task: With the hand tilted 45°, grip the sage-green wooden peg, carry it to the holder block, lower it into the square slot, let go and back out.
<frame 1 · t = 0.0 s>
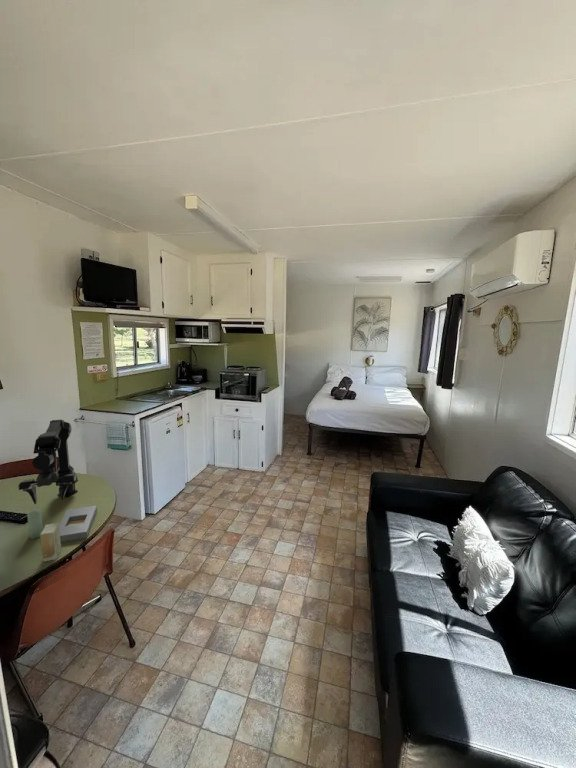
hand: (49, 501, 129), 15 cm above the table, tool pointing down, fingers open, 9 cm apart
skincare box: (52, 555, 120), on the table
sage peg: (36, 534, 131), on the table
holder block: (77, 525, 138), on the table
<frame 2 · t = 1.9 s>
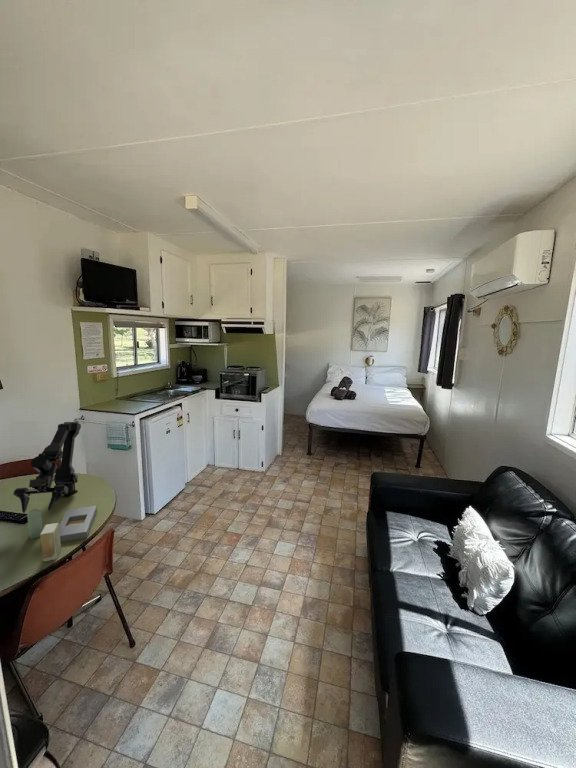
hand: (36, 511, 131), 10 cm above the table, tool tilted 45°, fingers open, 9 cm apart
nothing on the table moved.
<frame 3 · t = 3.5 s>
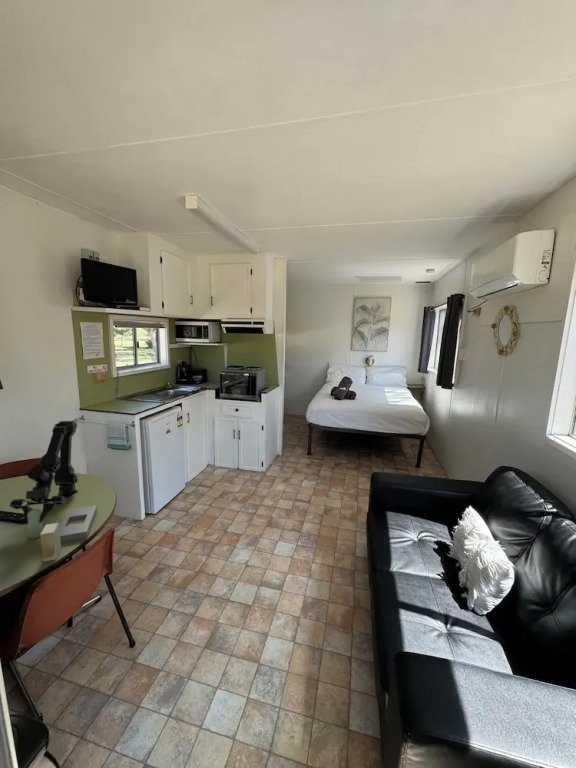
hand: (33, 523, 128), 7 cm above the table, tool tilted 45°, fingers closed on sage peg, 4 cm apart
sage peg: (36, 534, 131), on the table, touching gripper
everything else where it was.
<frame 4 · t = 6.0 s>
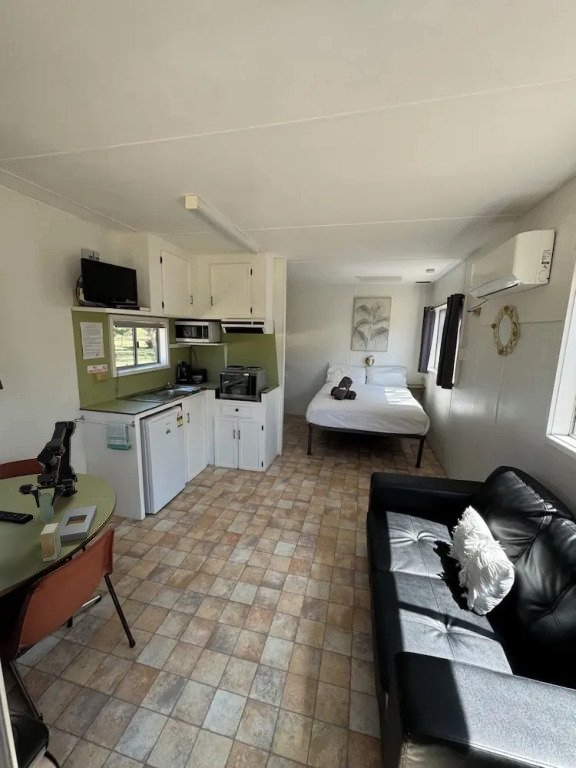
hand: (45, 506, 129), 13 cm above the table, tool tilted 45°, fingers closed on sage peg, 4 cm apart
sage peg: (47, 518, 131), point 7 cm above the table, touching gripper
everything else where it was.
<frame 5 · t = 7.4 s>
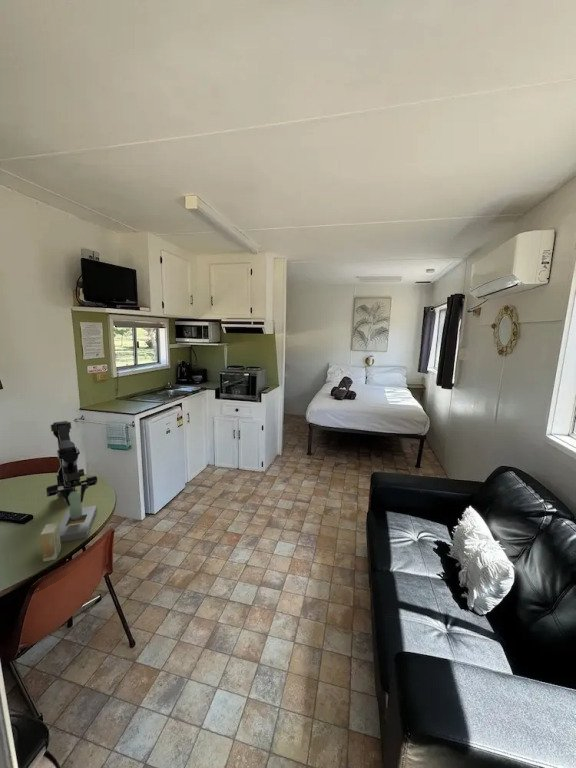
hand: (75, 503, 135), 12 cm above the table, tool tilted 45°, fingers closed on sage peg, 4 cm apart
sage peg: (76, 515, 137), point 5 cm above the table, touching gripper
everything else where it was.
when the fingers open (8 cm above the table, at t = 8.5 s): sage peg stays where it is, resting on holder block.
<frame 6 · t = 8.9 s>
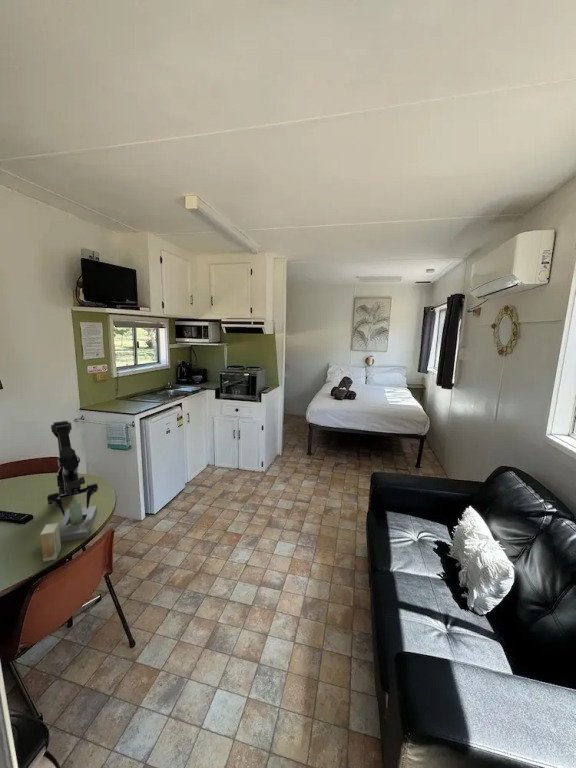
hand: (76, 511, 135), 8 cm above the table, tool tilted 45°, fingers open, 8 cm apart
sage peg: (76, 524, 138), point 1 cm above the table, touching holder block
everything else where it was.
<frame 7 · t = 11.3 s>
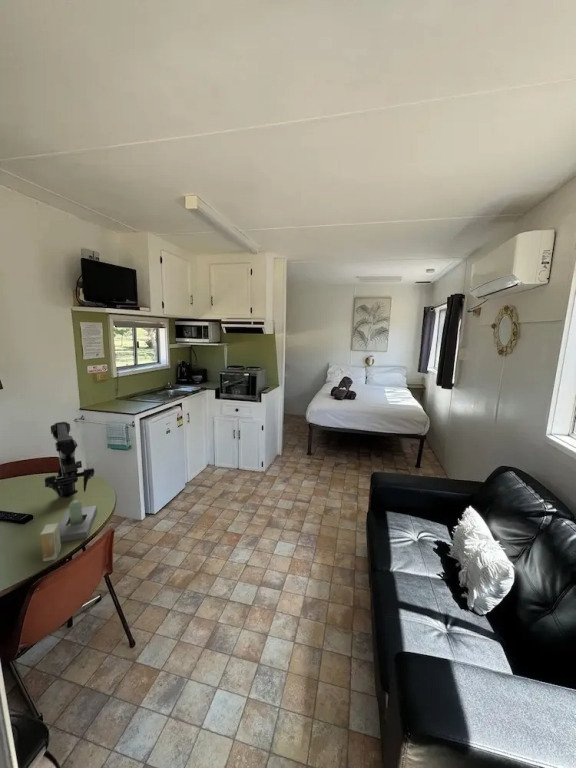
hand: (72, 494, 138), 13 cm above the table, tool tilted 45°, fingers open, 9 cm apart
nothing on the table moved.
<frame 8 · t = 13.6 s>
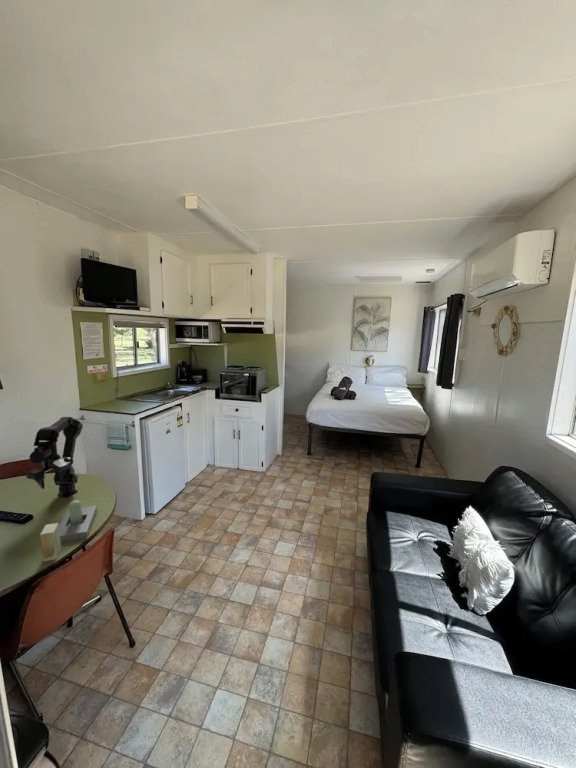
hand: (52, 483, 147), 13 cm above the table, tool pointing down, fingers open, 9 cm apart
nothing on the table moved.
at the end: sage peg 0.0 cm off-centre on the holder block, point 0.5 cm above the holder block's base; sage peg tilted 0°; the gripper is holding nothing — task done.
